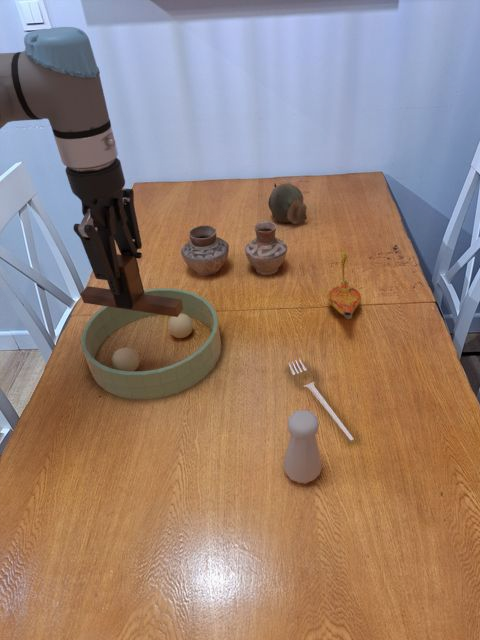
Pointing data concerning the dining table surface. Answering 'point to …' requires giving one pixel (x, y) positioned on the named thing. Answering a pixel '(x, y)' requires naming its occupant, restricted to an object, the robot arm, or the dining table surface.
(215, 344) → the green ring
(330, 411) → the fork
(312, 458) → the salt shaker
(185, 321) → the dough ball
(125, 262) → the brown inverted t block
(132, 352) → the dough ball
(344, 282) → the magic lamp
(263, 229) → the pair of painted pots
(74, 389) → the dining table surface
